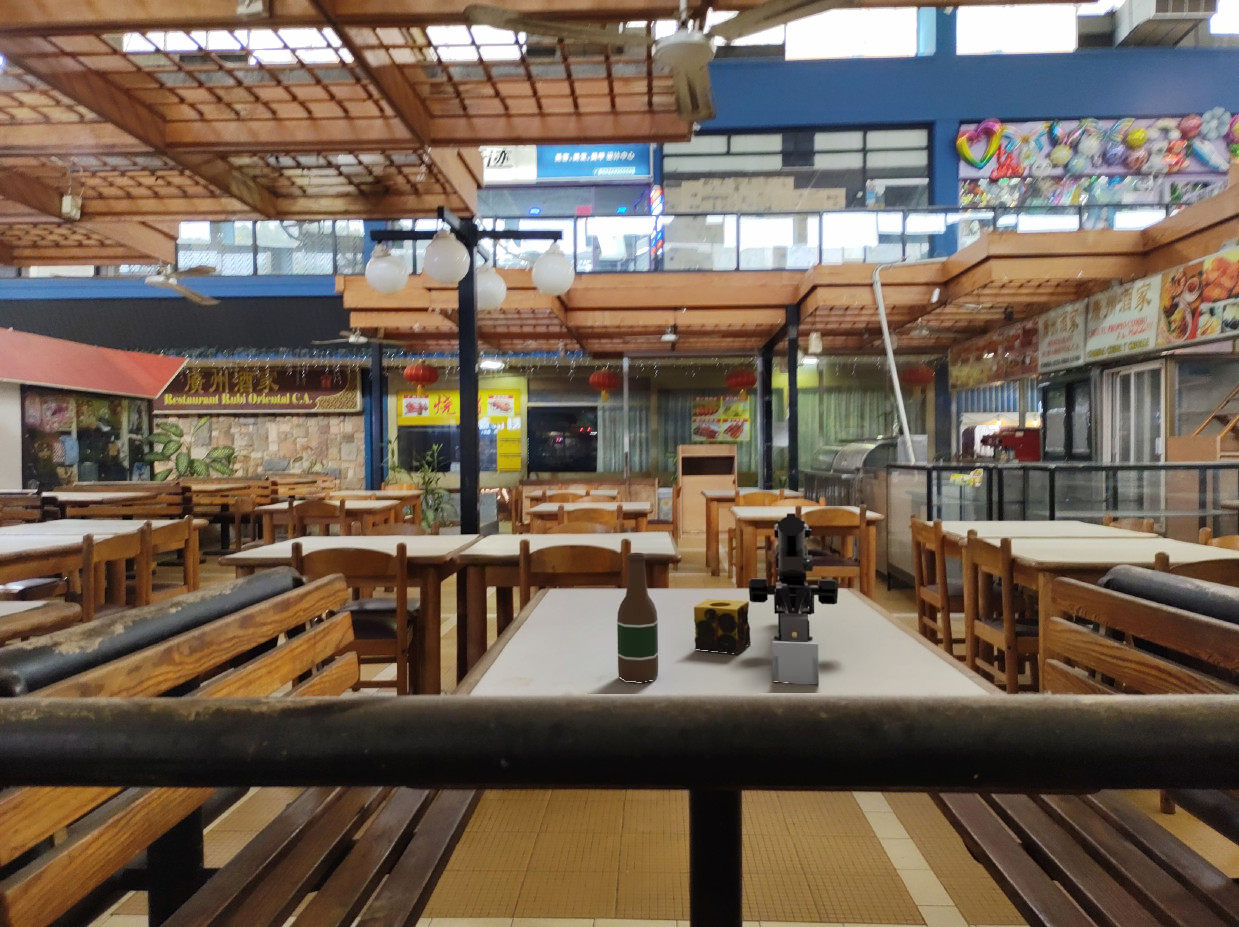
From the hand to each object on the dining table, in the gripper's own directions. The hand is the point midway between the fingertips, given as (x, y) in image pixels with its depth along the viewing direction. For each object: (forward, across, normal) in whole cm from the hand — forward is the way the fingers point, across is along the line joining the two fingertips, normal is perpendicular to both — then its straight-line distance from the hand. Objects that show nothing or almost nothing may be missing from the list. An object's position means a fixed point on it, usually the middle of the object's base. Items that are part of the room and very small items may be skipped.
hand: (793, 624), depth 151 cm
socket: (+14, 0, -4) cm, 15 cm away
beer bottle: (+19, -29, -9) cm, 36 cm away
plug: (+9, 0, +1) cm, 9 cm away
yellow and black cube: (+1, -15, +10) cm, 18 cm away
